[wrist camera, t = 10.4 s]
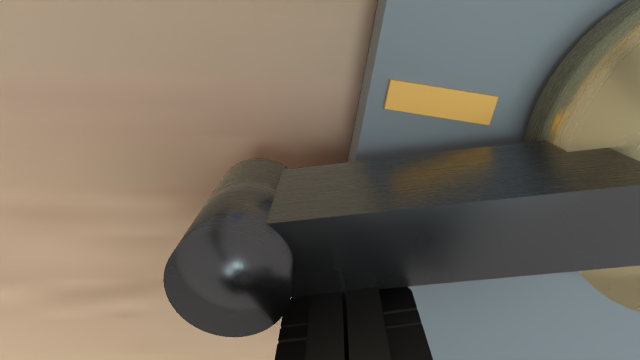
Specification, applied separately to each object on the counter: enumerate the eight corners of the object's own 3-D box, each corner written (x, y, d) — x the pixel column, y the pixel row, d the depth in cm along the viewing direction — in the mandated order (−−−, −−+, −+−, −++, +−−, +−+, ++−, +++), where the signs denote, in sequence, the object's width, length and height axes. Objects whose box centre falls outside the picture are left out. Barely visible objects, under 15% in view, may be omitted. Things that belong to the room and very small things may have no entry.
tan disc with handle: (936, -68, 9) (1523, -156, 5) (802, 262, 12) (1067, 394, 8) (188, 35, 10) (81, 44, 6) (254, 310, 13) (218, 449, 9)
